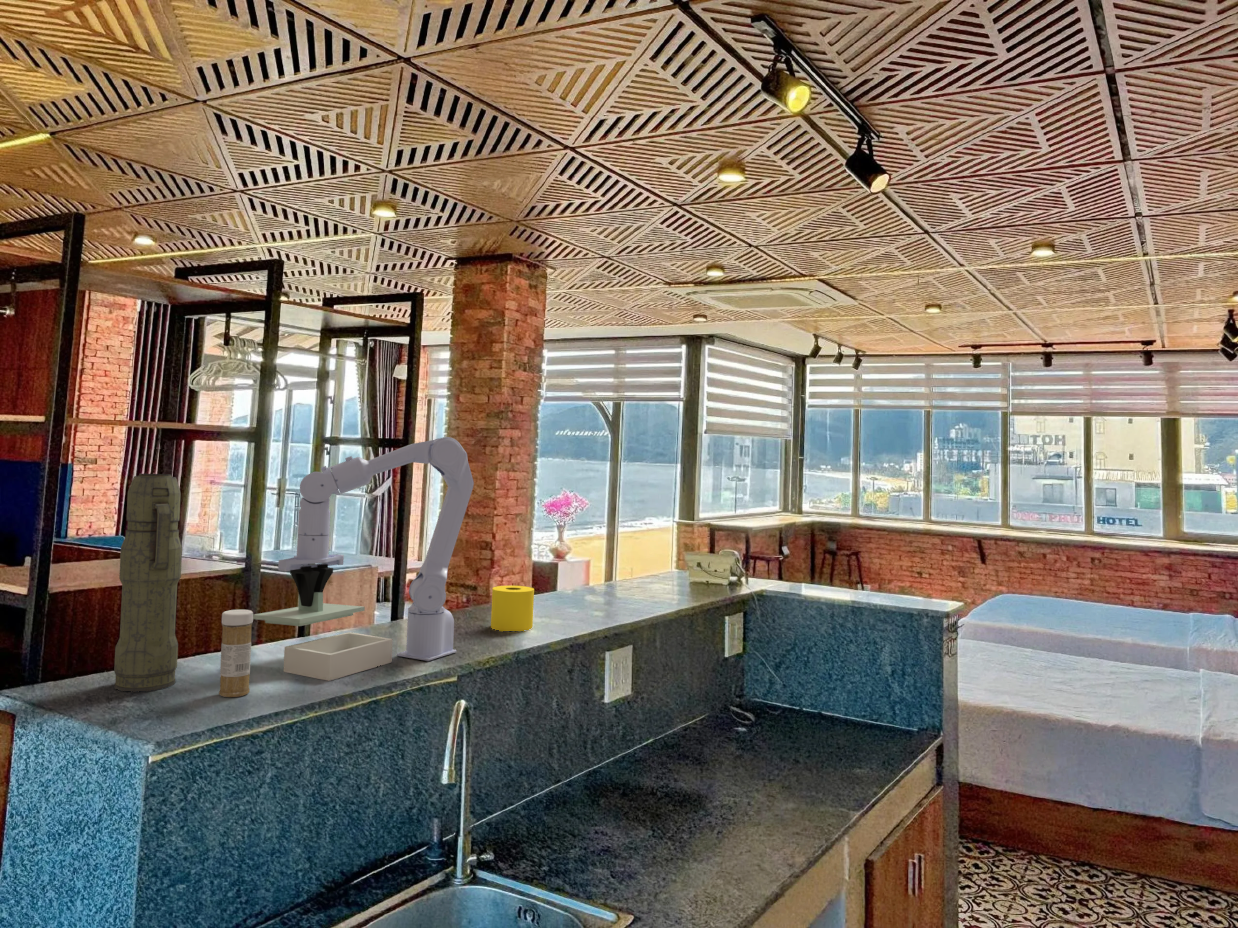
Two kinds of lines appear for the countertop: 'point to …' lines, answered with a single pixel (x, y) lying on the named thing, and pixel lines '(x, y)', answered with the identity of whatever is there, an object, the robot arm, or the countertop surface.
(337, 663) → the tub
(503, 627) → the yellow paper roll
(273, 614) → the lid
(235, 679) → the sprinkles bottle
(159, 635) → the thermos
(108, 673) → the countertop surface
